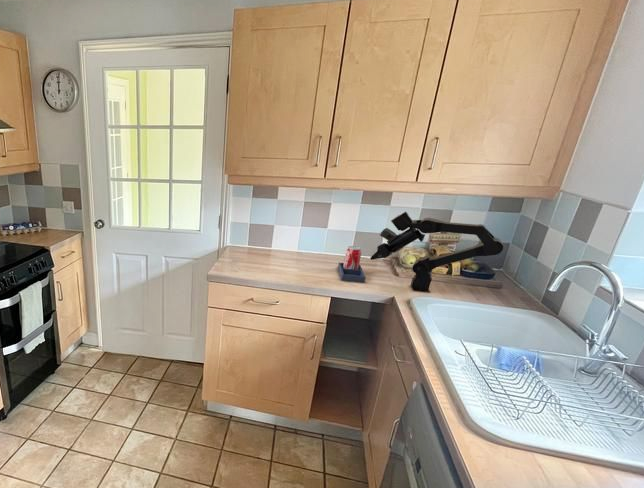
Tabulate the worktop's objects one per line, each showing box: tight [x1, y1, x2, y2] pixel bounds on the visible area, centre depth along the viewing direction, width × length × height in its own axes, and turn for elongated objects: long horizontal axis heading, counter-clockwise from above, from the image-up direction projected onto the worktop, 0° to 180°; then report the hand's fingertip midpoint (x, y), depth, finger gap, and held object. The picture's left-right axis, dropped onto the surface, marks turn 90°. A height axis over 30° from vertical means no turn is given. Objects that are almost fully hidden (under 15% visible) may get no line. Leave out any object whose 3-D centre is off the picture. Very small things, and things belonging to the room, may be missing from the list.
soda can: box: [343, 245, 362, 270], centre depth 206 cm, size 7×7×12 cm
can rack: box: [337, 262, 367, 284], centre depth 204 cm, size 10×19×3 cm, turn 163°
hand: (374, 256), depth 196 cm, fingers open, 9 cm apart
